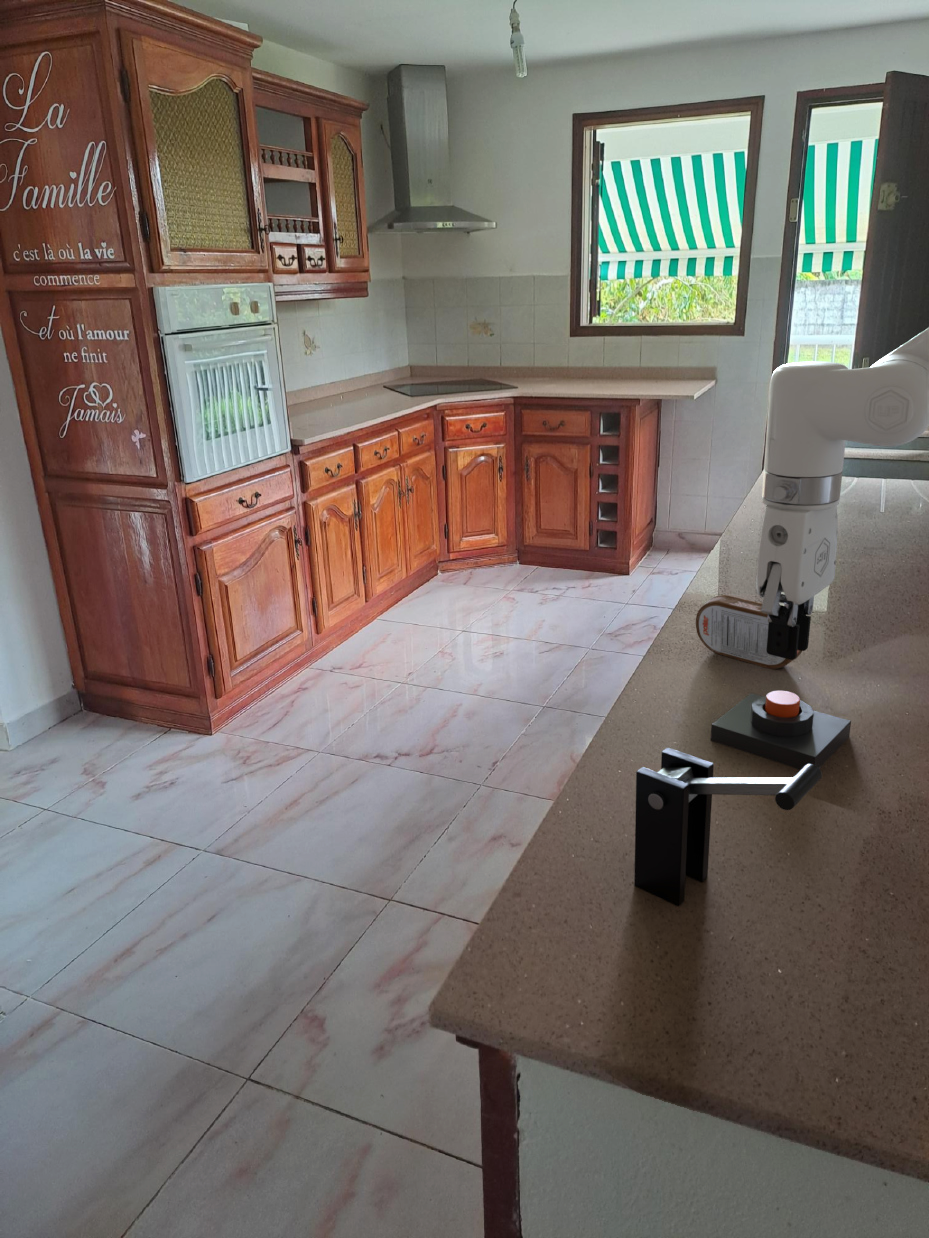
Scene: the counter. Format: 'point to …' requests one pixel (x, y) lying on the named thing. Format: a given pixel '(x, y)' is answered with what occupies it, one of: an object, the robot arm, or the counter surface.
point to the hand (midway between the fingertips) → (787, 650)
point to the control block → (781, 733)
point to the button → (782, 704)
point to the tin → (737, 631)
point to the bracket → (671, 828)
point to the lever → (751, 785)
